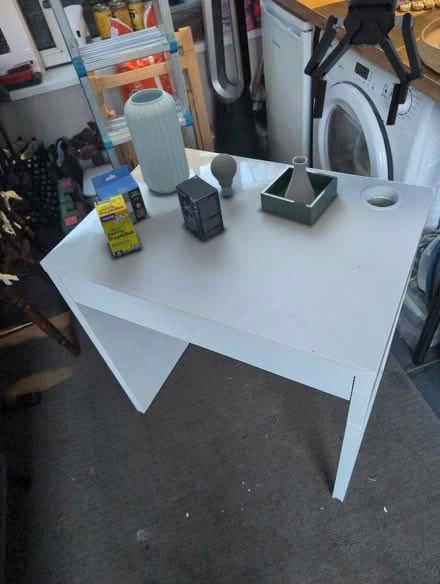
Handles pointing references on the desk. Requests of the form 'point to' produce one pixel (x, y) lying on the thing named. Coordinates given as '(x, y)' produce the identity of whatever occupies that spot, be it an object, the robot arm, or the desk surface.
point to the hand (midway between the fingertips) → (352, 121)
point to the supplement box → (117, 225)
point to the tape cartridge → (121, 191)
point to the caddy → (294, 210)
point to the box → (200, 207)
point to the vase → (157, 139)
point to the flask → (300, 183)
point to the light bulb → (224, 171)
